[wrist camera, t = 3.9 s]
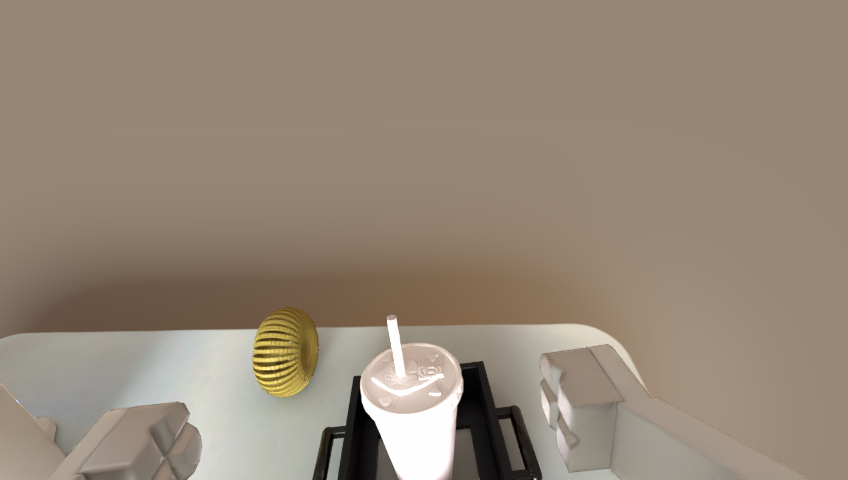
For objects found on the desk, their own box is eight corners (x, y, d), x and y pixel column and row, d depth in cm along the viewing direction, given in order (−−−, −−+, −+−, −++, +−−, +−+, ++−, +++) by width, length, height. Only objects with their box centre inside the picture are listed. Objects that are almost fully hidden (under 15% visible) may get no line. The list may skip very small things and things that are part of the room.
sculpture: (303, 417, 35) (279, 344, 31) (259, 417, 35) (231, 346, 32) (330, 354, 42) (313, 290, 38) (293, 355, 42) (274, 292, 39)
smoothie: (385, 442, 31) (353, 292, 26) (465, 434, 31) (452, 282, 25) (379, 529, 26) (335, 361, 20) (478, 520, 25) (463, 348, 20)
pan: (298, 627, 21) (283, 596, 20) (339, 405, 35) (332, 378, 34) (571, 596, 21) (574, 562, 20) (505, 386, 35) (504, 358, 34)
